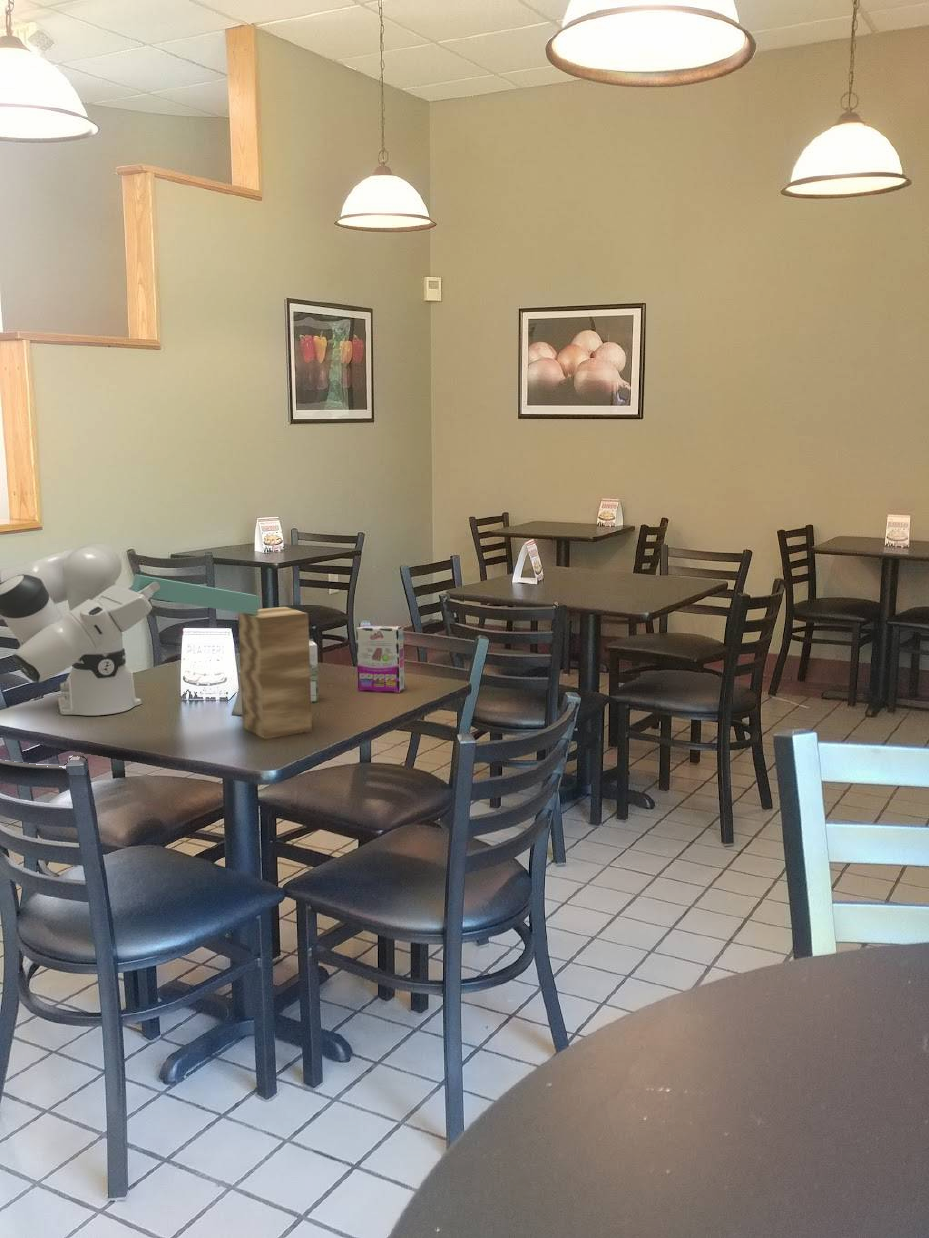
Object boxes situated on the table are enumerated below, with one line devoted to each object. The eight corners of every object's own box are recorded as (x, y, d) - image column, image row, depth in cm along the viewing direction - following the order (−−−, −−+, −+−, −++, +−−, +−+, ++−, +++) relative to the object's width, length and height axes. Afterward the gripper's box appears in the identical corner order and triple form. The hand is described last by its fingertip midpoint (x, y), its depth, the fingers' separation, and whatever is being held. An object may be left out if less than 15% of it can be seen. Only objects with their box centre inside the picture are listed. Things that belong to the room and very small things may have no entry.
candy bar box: (405, 689, 278) (404, 625, 275) (399, 693, 273) (398, 629, 270) (363, 687, 280) (362, 624, 278) (357, 691, 276) (355, 627, 273)
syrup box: (311, 697, 270) (309, 639, 268) (319, 702, 265) (317, 643, 262) (289, 699, 267) (287, 641, 265) (296, 704, 262) (294, 645, 260)
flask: (255, 717, 251) (253, 674, 249) (226, 715, 252) (224, 673, 250) (267, 709, 258) (266, 668, 256) (238, 708, 259) (237, 667, 257)
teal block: (131, 593, 220) (134, 574, 220) (249, 613, 235) (253, 594, 235) (137, 595, 217) (140, 576, 217) (257, 615, 231) (260, 596, 231)
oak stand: (242, 727, 242) (238, 611, 237) (288, 719, 248) (284, 606, 244) (264, 739, 232) (260, 618, 228) (311, 731, 238) (308, 613, 234)
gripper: (89, 627, 225) (145, 590, 230) (118, 642, 208) (178, 601, 213) (72, 602, 222) (129, 565, 227) (100, 615, 205) (161, 574, 211)
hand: (153, 582), depth 220 cm, fingers closed on teal block, 4 cm apart
